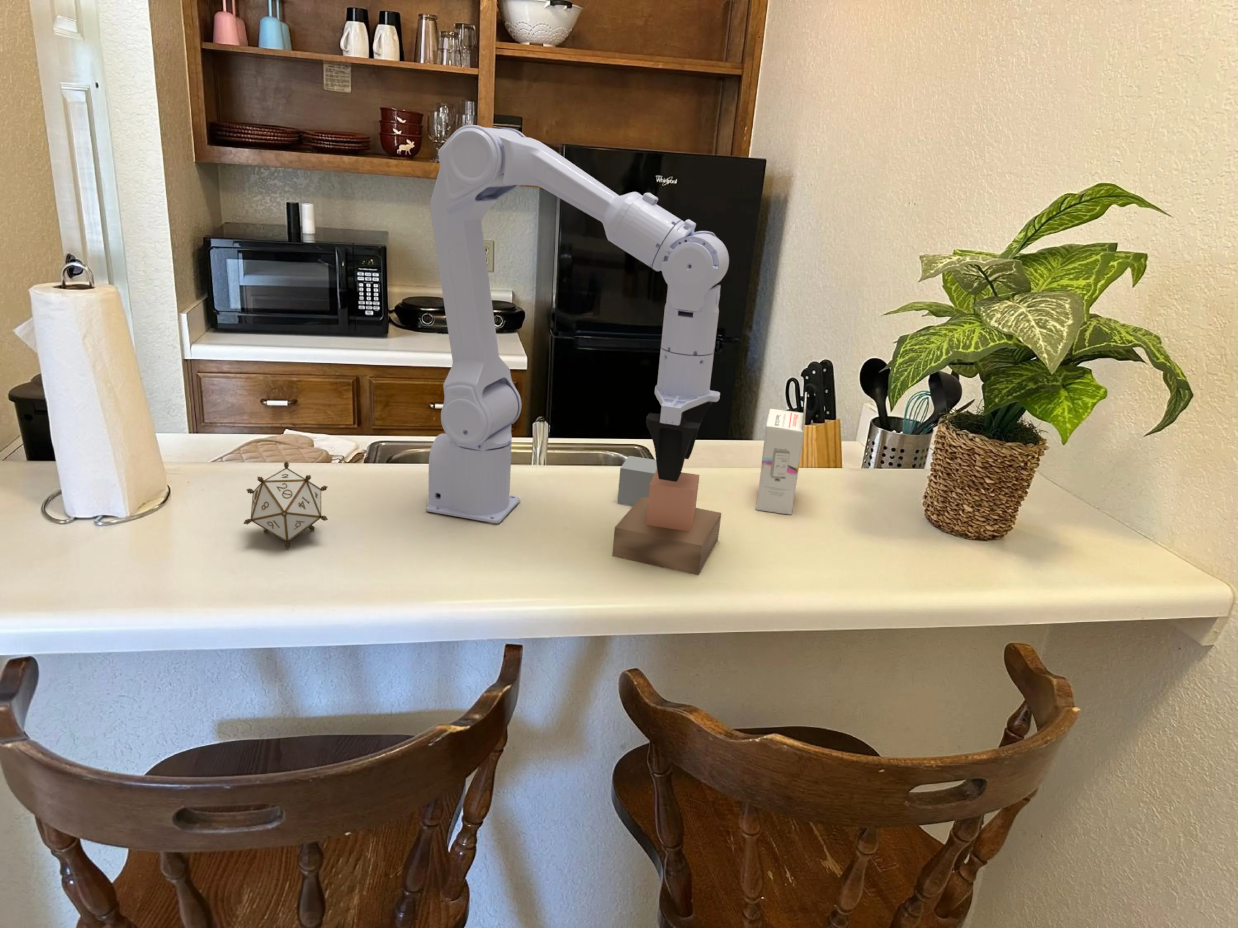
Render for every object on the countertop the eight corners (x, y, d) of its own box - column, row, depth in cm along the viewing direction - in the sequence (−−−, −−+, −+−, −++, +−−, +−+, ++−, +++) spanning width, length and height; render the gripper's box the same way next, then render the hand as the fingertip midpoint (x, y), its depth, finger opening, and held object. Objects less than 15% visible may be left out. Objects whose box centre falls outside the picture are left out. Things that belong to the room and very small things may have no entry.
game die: (309, 567, 98) (357, 511, 94) (237, 563, 92) (285, 502, 88) (288, 506, 103) (332, 450, 99) (218, 497, 96) (262, 437, 92)
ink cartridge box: (757, 487, 122) (772, 386, 117) (793, 492, 122) (809, 390, 116) (753, 510, 114) (769, 402, 109) (791, 516, 114) (809, 407, 109)
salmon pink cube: (645, 524, 99) (649, 483, 97) (652, 508, 103) (656, 468, 102) (689, 531, 98) (694, 490, 96) (694, 514, 102) (699, 474, 101)
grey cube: (617, 504, 113) (620, 468, 111) (626, 490, 118) (629, 455, 116) (655, 510, 112) (658, 474, 110) (662, 496, 117) (666, 461, 115)
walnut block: (612, 559, 99) (614, 527, 97) (638, 526, 108) (641, 496, 106) (697, 578, 96) (702, 545, 95) (717, 543, 105) (721, 512, 104)
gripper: (715, 369, 86) (700, 496, 91) (732, 341, 100) (718, 453, 104) (645, 360, 88) (634, 485, 92) (671, 333, 101) (660, 444, 106)
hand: (674, 468), depth 98 cm, fingers open, 7 cm apart
